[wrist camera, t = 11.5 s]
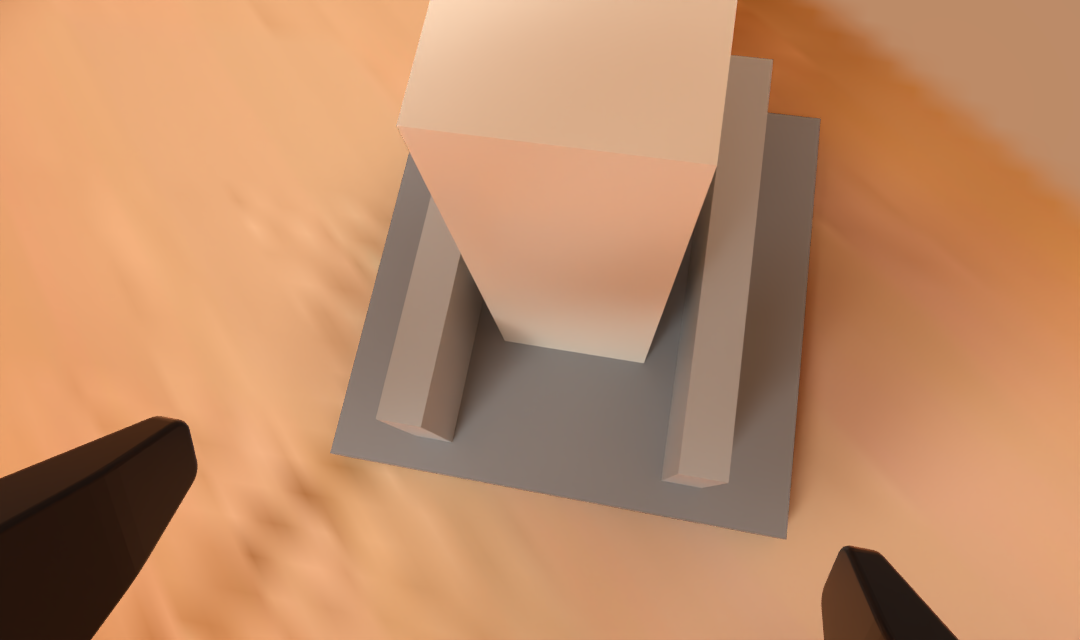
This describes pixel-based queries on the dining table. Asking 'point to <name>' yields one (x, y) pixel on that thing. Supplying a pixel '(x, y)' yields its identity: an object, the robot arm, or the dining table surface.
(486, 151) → the cream block
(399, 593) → the dining table surface
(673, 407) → the slot rack
